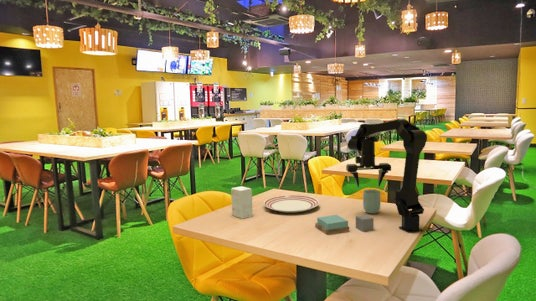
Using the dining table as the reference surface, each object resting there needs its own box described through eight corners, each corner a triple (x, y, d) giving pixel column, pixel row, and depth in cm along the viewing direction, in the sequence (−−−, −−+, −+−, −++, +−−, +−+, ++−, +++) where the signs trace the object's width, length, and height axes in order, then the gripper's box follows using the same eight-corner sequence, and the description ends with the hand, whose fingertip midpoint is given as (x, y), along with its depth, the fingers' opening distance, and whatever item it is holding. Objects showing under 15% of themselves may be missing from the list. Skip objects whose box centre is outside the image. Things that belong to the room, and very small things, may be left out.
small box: (253, 216, 175) (252, 188, 174) (241, 219, 171) (240, 190, 170) (242, 212, 181) (241, 185, 180) (231, 215, 177) (230, 188, 176)
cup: (382, 214, 171) (382, 193, 170) (365, 215, 171) (365, 193, 170) (377, 210, 179) (378, 189, 178) (361, 210, 179) (361, 189, 178)
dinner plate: (317, 217, 172) (317, 209, 171) (258, 215, 177) (257, 208, 177) (321, 201, 198) (321, 195, 198) (269, 200, 204) (269, 194, 203)
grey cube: (373, 230, 152) (373, 218, 151) (362, 232, 150) (362, 219, 149) (366, 226, 156) (366, 214, 156) (355, 228, 155) (355, 216, 154)
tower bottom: (349, 233, 151) (349, 227, 150) (326, 236, 147) (326, 230, 147) (336, 225, 160) (336, 220, 160) (315, 228, 157) (315, 223, 156)
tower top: (348, 227, 151) (348, 220, 150) (327, 230, 148) (327, 223, 147) (336, 220, 159) (336, 214, 159) (317, 223, 156) (317, 217, 156)
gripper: (384, 149, 175) (384, 182, 177) (343, 150, 176) (344, 183, 178) (391, 151, 164) (391, 187, 166) (348, 153, 165) (348, 188, 167)
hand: (368, 186), depth 169 cm, fingers open, 9 cm apart
